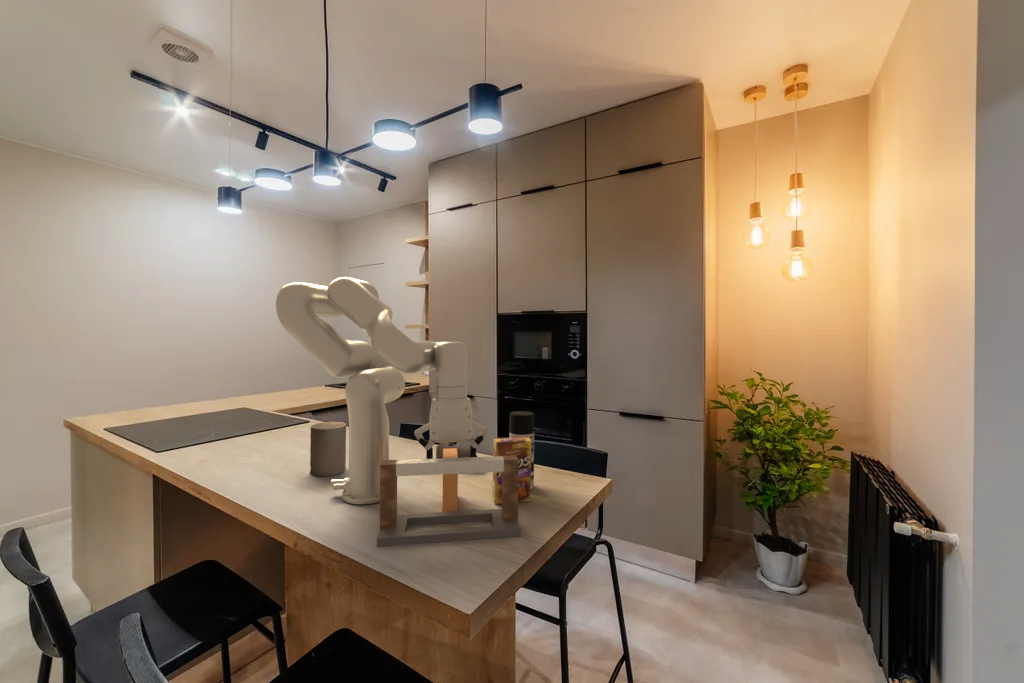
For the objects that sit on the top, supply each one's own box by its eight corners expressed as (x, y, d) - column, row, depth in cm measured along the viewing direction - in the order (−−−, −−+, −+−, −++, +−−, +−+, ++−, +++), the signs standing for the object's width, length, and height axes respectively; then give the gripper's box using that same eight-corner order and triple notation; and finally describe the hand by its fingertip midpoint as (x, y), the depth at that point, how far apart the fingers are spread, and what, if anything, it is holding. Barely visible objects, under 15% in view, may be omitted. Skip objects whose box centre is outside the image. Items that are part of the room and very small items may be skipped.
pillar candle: (302, 474, 117) (302, 422, 116) (328, 464, 126) (328, 416, 126) (328, 478, 113) (328, 425, 113) (353, 468, 122) (353, 418, 122)
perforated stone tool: (483, 470, 123) (483, 447, 122) (473, 475, 118) (473, 451, 118) (445, 461, 130) (445, 440, 130) (434, 466, 126) (434, 443, 126)
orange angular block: (457, 511, 93) (457, 459, 93) (442, 512, 93) (442, 460, 92) (456, 495, 103) (456, 448, 102) (442, 496, 102) (443, 448, 102)
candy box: (495, 505, 97) (495, 441, 97) (491, 498, 101) (492, 437, 101) (530, 502, 99) (531, 440, 99) (526, 495, 103) (527, 435, 103)
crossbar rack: (376, 546, 78) (377, 470, 77) (384, 522, 87) (384, 455, 87) (520, 536, 82) (521, 464, 82) (512, 514, 92) (513, 450, 92)
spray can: (531, 493, 105) (532, 415, 104) (506, 490, 106) (507, 414, 106) (535, 484, 111) (536, 411, 111) (511, 482, 112) (512, 410, 112)
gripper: (412, 396, 92) (413, 471, 92) (488, 394, 95) (489, 467, 95) (415, 391, 99) (415, 461, 100) (485, 390, 102) (485, 457, 102)
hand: (451, 464), depth 97 cm, fingers open, 9 cm apart
